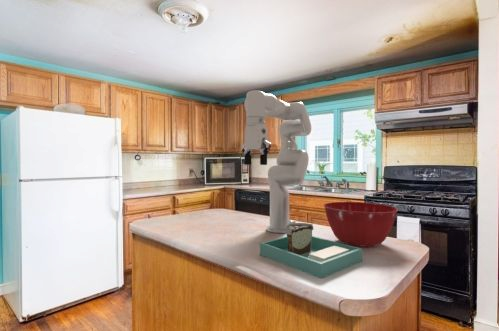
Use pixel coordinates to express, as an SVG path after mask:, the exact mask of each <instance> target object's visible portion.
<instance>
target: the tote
mask: <svg viewBox="0 0 499 331" xmlns="http://www.w3.org/2000/svg"><path fill="white" fill-rule="evenodd" d="M332 246H338V247H342V248H345V249H349V252H347V253H344V254H342V255H339V256H336V257H334V258H331V259H328V260H326V261H323V262H318V261H315V260H312V259H309V258H308V256H309V254H310V253H313V252H316V251H319V250H322V249H325V248H328V247H332ZM310 253H307V254H304V255H298V254H295V253H292V252H289V251H288V245H287V236H284V237H280V238H276V239H272V240H268V241H263V242H260V243H259V256H260V257H261V256H262V257H265V258H267V259H271V260H272V261H273V260H274V261H276V262H278V263H281V264H283V265H286V266H288V267H291V268H294V269H295V270H298V271H301V272H304V273H307V274H308V275H311V276H315V277H317V278H319V279H323V278H326V277H328V276H330V275H333V274H335V273H337V272H340V271H343V270H344V269H346V268H349V267H351V266H353V265H356V264H359V263H360V262H362V261H363V248H359V247H354V246H350V245H346V244H343V243H342V242H337V241H334V240H330V239H325V238H321V237H318V236H315V235H312V242H311V252H310Z"/></svg>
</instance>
